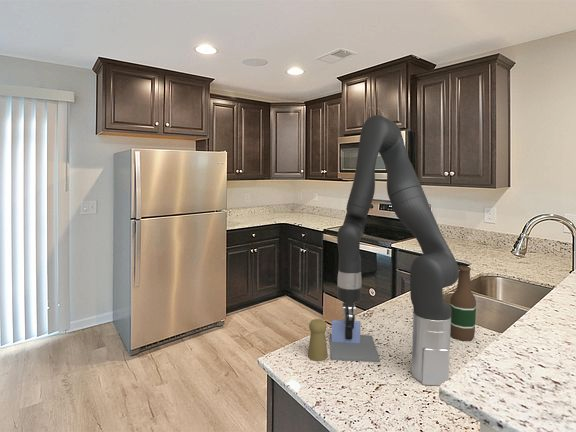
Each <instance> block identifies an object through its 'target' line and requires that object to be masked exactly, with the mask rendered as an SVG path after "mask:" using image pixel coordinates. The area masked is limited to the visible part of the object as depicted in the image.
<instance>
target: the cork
mask: <svg viewBox="0 0 576 432" xmlns="http://www.w3.org/2000/svg"><path fill="white" fill-rule="evenodd" d="M308 325H309V326H308V329H309V331H310V336H309V337H310V338H309V344H308V349H307V351H308V352H307V358H308V359H309V360H311V361H313V362H323V361H326V360H327V359H328V357H329V355H328V347H327V339H326V331H327V329H328V326H327V322H326V321H325V320H323V319H320V318H315V319H312V320H310V322H309V324H308Z"/></svg>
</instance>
